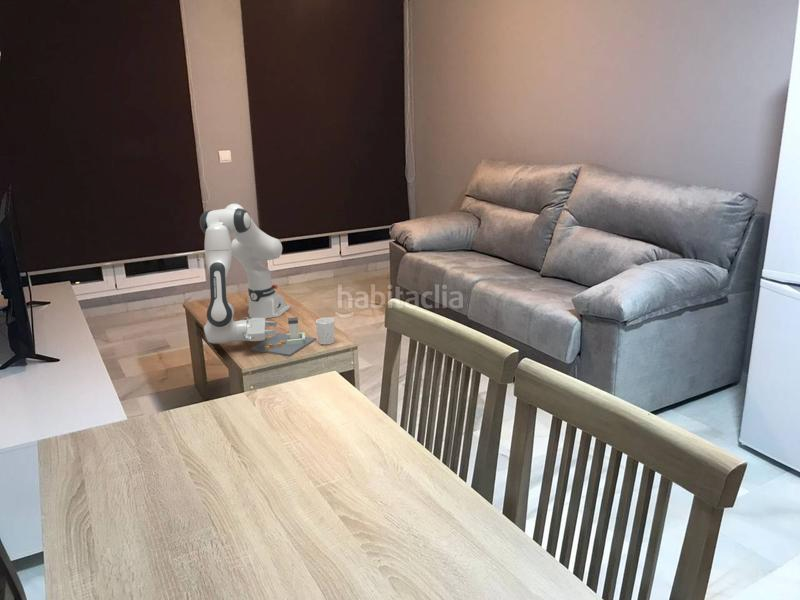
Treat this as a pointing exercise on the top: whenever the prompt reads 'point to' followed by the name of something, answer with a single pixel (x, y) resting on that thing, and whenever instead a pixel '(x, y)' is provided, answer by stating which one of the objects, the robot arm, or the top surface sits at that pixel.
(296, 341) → the end holder
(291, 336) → the beige container
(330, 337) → the white cup
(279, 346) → the board
